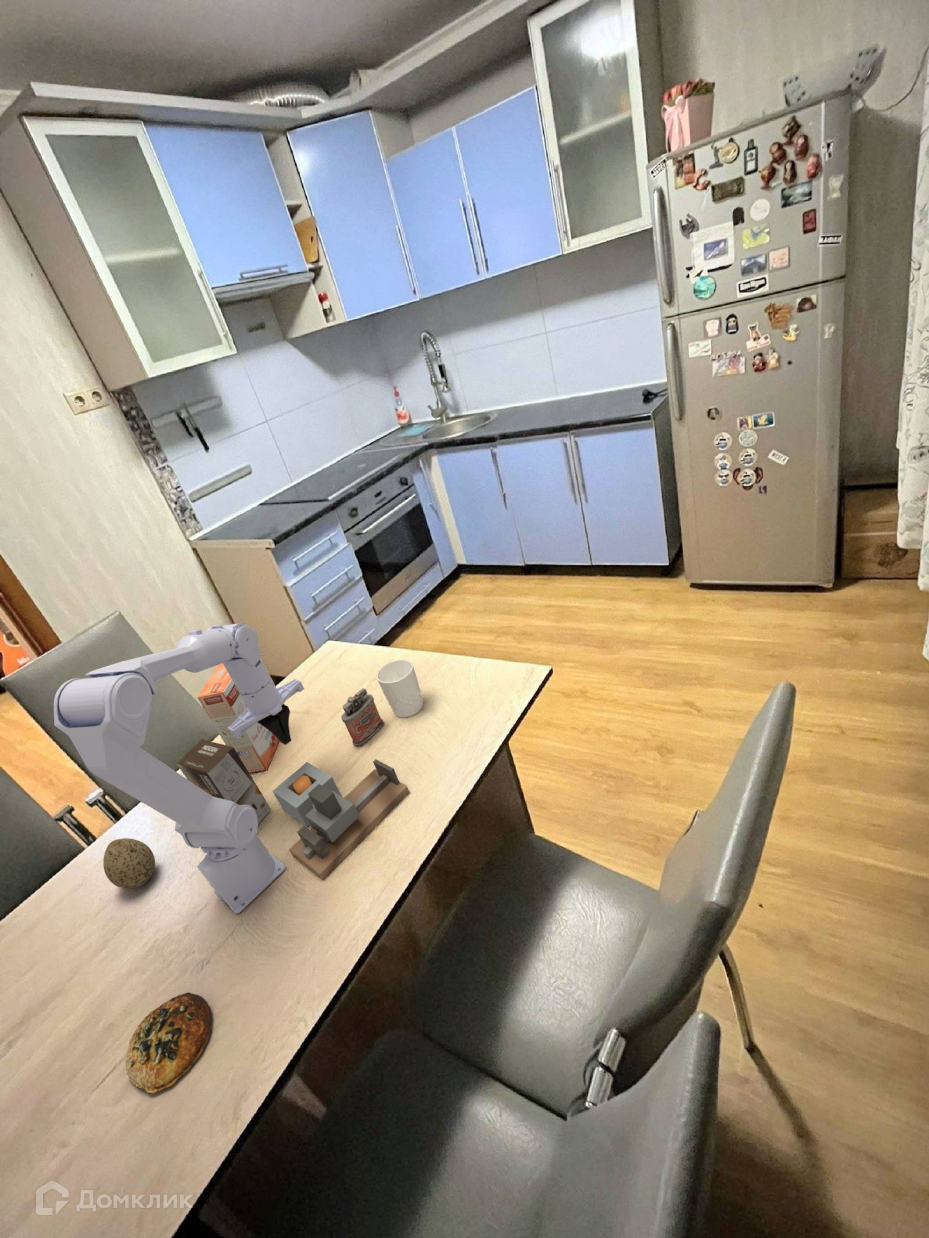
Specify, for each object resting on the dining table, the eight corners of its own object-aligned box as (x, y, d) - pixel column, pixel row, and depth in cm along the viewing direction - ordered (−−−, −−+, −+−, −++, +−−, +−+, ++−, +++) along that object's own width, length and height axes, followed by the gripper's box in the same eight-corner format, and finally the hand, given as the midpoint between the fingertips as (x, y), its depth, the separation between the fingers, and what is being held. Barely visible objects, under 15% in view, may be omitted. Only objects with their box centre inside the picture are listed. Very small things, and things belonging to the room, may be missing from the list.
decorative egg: (168, 876, 99) (138, 839, 94) (126, 906, 95) (93, 870, 90) (157, 854, 104) (128, 817, 99) (118, 882, 101) (86, 845, 96)
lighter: (361, 749, 115) (344, 712, 110) (350, 744, 117) (332, 707, 112) (387, 723, 120) (372, 686, 115) (376, 719, 122) (361, 683, 117)
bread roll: (226, 989, 79) (206, 976, 76) (202, 1090, 70) (179, 1080, 67) (154, 1003, 80) (131, 991, 77) (122, 1105, 71) (95, 1095, 68)
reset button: (308, 807, 103) (298, 790, 101) (299, 801, 105) (289, 784, 103) (321, 796, 105) (312, 779, 103) (312, 790, 107) (302, 773, 105)
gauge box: (307, 827, 100) (297, 808, 98) (283, 809, 106) (272, 791, 103) (342, 795, 105) (332, 777, 103) (316, 780, 110) (306, 761, 108)
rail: (323, 880, 90) (311, 860, 88) (292, 855, 96) (280, 835, 94) (409, 792, 102) (401, 772, 99) (377, 774, 108) (368, 755, 105)
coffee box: (273, 808, 107) (235, 746, 99) (248, 836, 102) (207, 773, 94) (240, 798, 111) (202, 738, 104) (216, 824, 107) (173, 763, 99)
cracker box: (269, 770, 116) (223, 691, 106) (242, 775, 117) (194, 697, 107) (288, 724, 128) (248, 649, 118) (263, 729, 129) (222, 655, 119)
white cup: (385, 719, 121) (370, 683, 116) (399, 695, 128) (385, 659, 123) (418, 720, 118) (404, 682, 114) (431, 695, 125) (418, 658, 120)
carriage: (332, 842, 92) (316, 813, 89) (311, 827, 96) (295, 799, 93) (359, 815, 96) (345, 787, 92) (338, 802, 100) (323, 774, 96)
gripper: (229, 716, 93) (264, 775, 99) (300, 665, 101) (328, 722, 108) (210, 704, 97) (244, 761, 104) (279, 657, 105) (307, 712, 112)
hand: (285, 741), depth 106 cm, fingers closed
